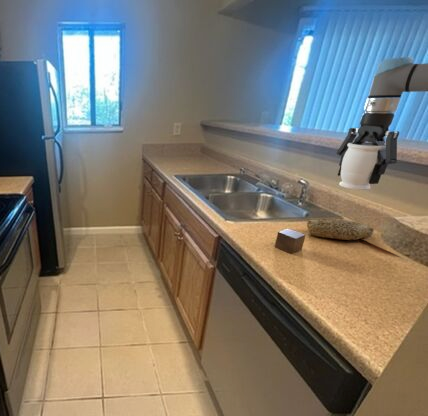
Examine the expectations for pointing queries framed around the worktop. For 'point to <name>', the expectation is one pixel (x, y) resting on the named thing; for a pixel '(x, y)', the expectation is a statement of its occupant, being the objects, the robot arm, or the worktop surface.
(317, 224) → the rough brown rock
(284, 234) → the walnut block
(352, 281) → the worktop surface
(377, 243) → the worktop surface
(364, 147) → the jar
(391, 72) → the robot arm
